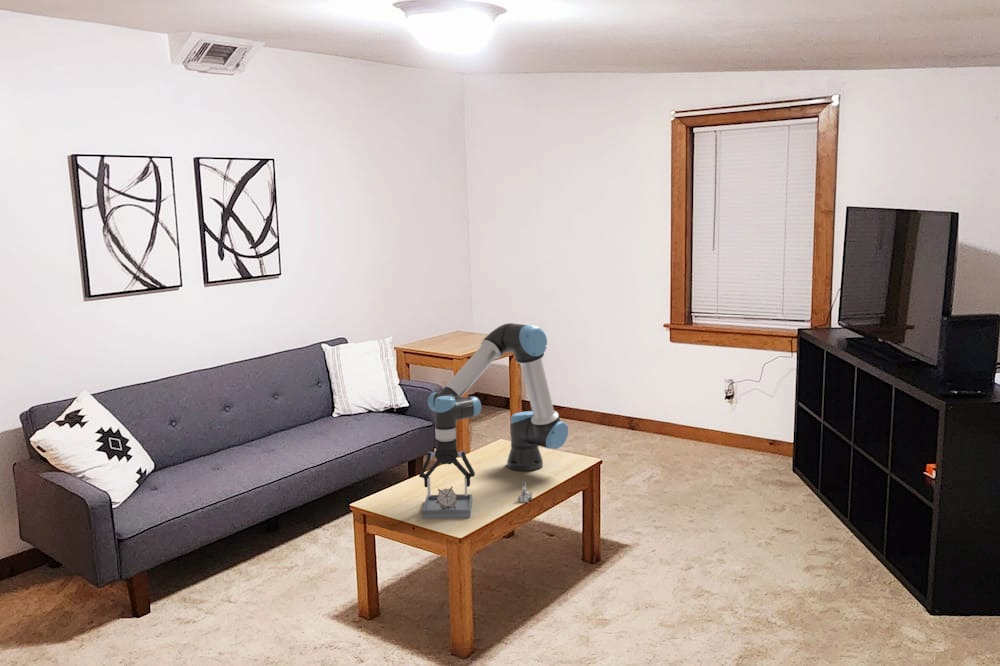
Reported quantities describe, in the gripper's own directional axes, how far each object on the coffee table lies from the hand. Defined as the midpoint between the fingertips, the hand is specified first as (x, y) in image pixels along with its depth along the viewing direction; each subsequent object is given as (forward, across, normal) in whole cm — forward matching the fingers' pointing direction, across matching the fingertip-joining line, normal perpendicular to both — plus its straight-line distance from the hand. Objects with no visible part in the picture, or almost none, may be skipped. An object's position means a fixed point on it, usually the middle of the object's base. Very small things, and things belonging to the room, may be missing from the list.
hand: (447, 495), depth 304 cm
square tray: (+6, 0, 0) cm, 6 cm away
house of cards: (+6, -30, -8) cm, 32 cm away
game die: (+3, 0, +1) cm, 3 cm away
